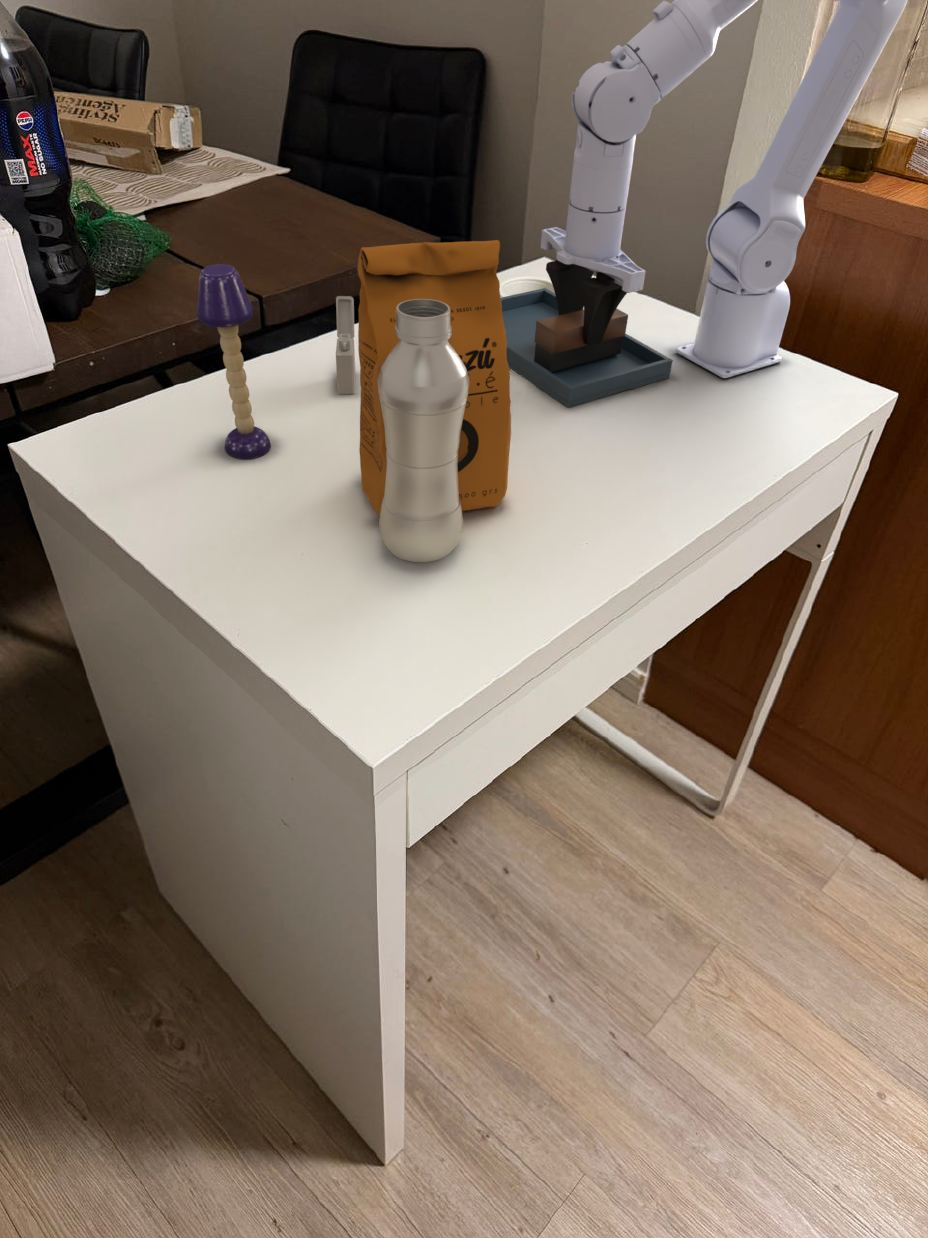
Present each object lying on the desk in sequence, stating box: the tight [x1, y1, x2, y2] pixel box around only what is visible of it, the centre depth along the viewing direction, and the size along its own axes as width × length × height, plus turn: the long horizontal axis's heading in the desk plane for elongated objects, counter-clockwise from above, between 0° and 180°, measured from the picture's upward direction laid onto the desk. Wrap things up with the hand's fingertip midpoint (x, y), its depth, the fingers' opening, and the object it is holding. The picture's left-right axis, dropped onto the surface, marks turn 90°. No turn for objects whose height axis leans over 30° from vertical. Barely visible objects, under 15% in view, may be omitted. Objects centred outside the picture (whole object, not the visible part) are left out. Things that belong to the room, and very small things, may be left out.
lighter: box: [335, 295, 356, 395], centre depth 95 cm, size 7×2×8 cm, turn 4°
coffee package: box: [356, 239, 512, 517], centre depth 74 cm, size 10×12×22 cm
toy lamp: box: [196, 263, 272, 460], centre depth 81 cm, size 5×5×17 cm
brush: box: [534, 307, 629, 372], centre depth 100 cm, size 10×4×5 cm, turn 123°
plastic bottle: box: [378, 299, 469, 563], centre depth 69 cm, size 6×7×20 cm
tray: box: [501, 287, 674, 408], centre depth 105 cm, size 14×23×2 cm, turn 33°
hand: (580, 334), depth 100 cm, fingers closed on brush, 3 cm apart
